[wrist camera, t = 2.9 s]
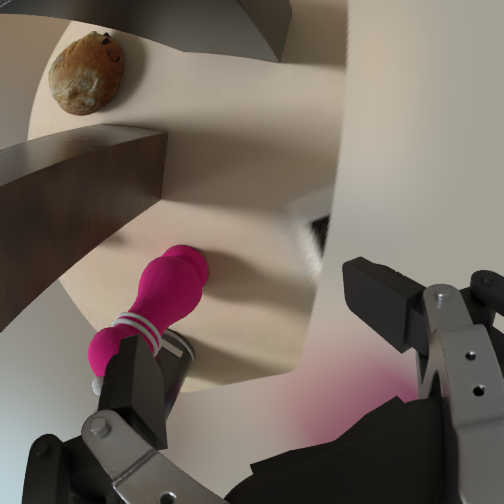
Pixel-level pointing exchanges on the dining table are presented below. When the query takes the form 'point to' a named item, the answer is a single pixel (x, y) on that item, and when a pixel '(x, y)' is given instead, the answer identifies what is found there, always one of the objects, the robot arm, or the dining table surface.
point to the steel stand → (180, 22)
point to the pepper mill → (153, 306)
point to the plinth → (69, 202)
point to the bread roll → (86, 74)
